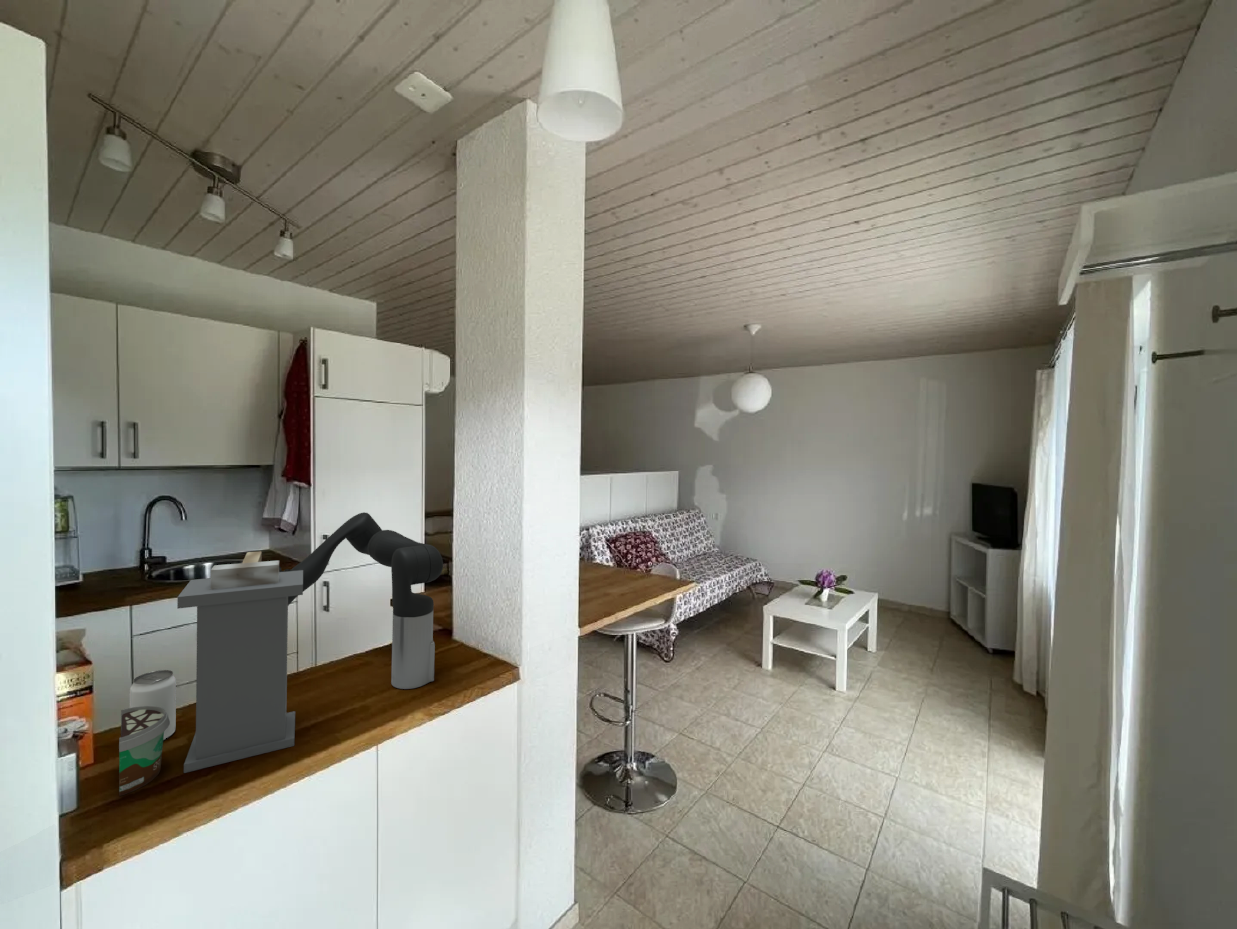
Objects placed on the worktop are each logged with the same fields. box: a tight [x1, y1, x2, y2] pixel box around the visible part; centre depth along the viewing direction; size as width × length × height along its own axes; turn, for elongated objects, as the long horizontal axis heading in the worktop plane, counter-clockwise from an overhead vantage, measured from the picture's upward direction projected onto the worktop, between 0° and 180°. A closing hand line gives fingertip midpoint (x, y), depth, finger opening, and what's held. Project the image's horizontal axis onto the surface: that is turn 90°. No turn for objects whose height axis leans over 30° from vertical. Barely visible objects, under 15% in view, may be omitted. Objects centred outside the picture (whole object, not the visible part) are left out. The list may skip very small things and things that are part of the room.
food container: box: [118, 706, 170, 797], centre depth 85 cm, size 12×6×10 cm, turn 44°
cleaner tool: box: [210, 550, 280, 589], centre depth 99 cm, size 10×20×4 cm, turn 33°
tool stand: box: [176, 570, 304, 774], centre depth 94 cm, size 18×12×31 cm, turn 123°
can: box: [129, 669, 177, 741], centre depth 95 cm, size 6×6×12 cm
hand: (251, 570), depth 110 cm, fingers open, 8 cm apart
